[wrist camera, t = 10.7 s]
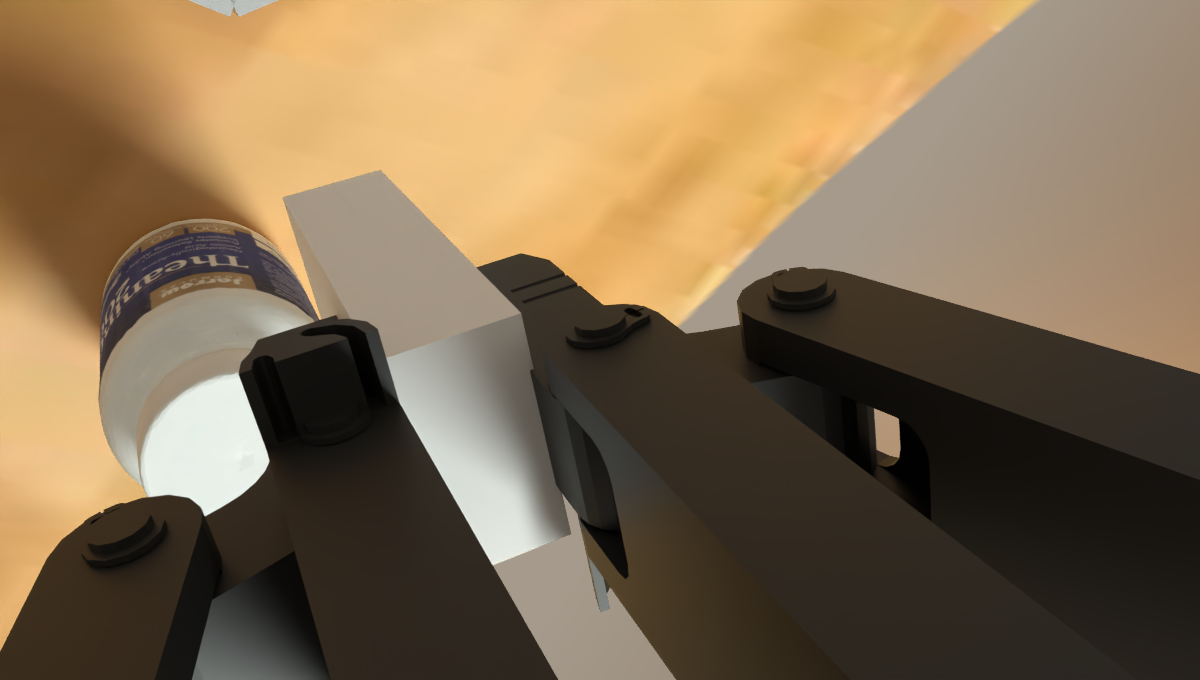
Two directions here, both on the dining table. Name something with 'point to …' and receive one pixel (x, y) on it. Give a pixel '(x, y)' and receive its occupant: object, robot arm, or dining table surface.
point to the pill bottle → (191, 355)
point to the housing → (233, 5)
